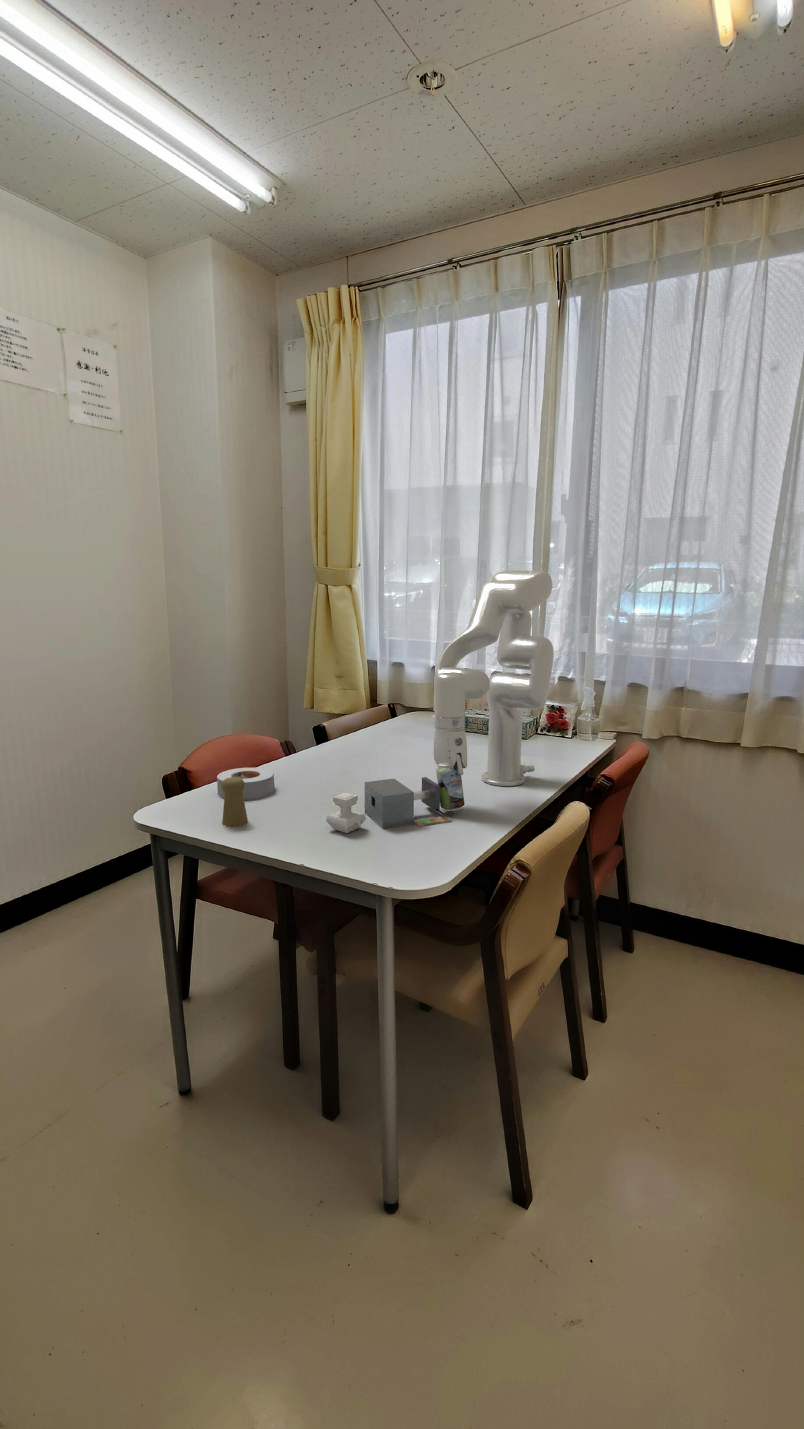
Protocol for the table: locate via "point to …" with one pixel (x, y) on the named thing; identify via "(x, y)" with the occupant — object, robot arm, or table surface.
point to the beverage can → (450, 788)
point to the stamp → (345, 814)
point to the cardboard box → (432, 821)
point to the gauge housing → (389, 803)
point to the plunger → (429, 794)
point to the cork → (234, 802)
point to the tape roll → (250, 782)
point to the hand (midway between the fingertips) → (448, 792)
